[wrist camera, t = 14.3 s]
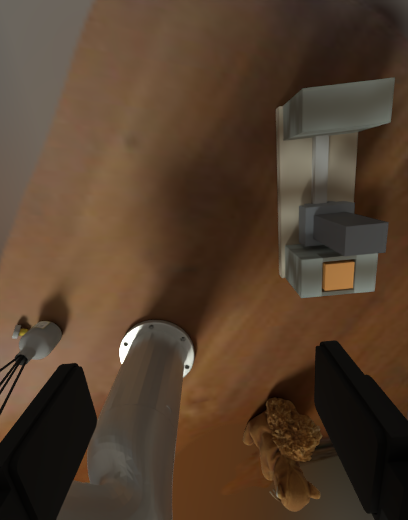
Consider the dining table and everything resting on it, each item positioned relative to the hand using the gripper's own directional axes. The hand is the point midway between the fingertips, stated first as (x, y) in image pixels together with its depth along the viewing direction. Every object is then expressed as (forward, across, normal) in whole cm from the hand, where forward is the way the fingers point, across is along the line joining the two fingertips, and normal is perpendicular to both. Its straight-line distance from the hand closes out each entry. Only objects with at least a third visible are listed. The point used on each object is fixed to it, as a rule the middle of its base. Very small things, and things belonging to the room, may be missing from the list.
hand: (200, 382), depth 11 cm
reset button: (+24, -16, +6) cm, 29 cm away
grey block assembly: (+30, -16, -4) cm, 34 cm away
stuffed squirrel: (+31, -10, +36) cm, 49 cm away
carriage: (+28, -16, 0) cm, 33 cm away
